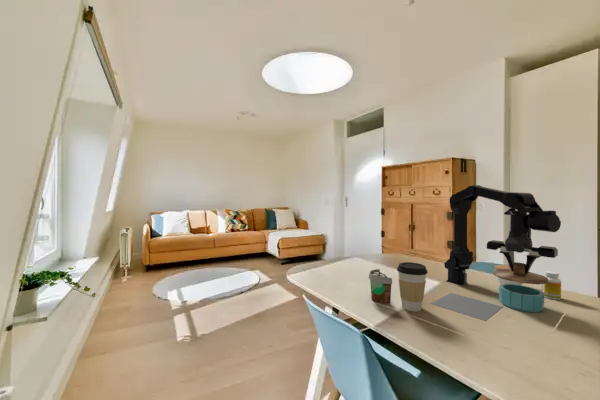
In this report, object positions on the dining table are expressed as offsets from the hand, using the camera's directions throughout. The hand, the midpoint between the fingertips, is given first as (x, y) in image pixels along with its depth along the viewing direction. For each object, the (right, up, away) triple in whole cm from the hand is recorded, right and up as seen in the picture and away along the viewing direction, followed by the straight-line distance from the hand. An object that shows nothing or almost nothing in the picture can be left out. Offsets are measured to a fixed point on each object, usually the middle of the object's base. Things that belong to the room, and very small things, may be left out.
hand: (519, 272), depth 95 cm
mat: (-19, -12, 0) cm, 22 cm away
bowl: (+1, -12, 0) cm, 12 cm away
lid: (0, -2, 0) cm, 2 cm away
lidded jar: (+14, -12, +22) cm, 29 cm away
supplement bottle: (+19, -12, +9) cm, 25 cm away
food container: (-49, -12, +6) cm, 50 cm away
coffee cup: (-39, -12, -2) cm, 41 cm away
